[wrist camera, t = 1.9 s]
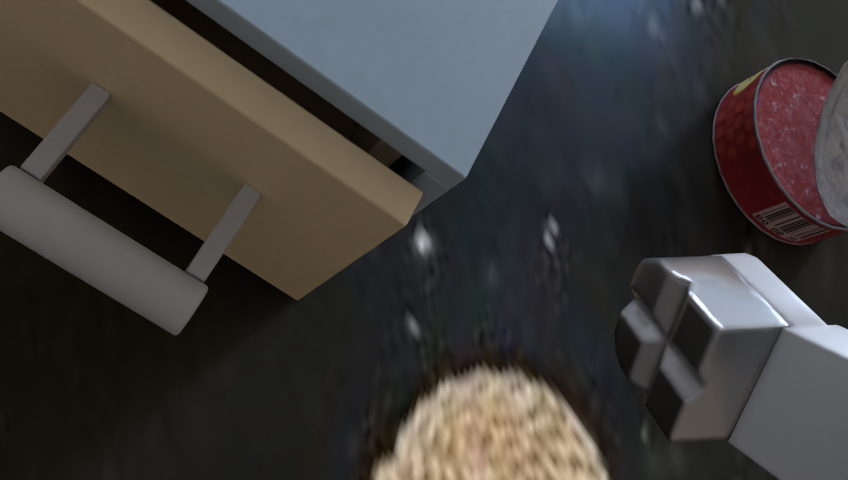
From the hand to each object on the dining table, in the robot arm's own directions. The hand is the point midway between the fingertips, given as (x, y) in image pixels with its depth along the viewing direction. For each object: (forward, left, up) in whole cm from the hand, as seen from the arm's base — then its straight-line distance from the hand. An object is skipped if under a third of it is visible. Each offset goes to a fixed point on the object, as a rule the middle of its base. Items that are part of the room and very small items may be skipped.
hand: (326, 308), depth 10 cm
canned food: (+22, +29, -21) cm, 42 cm away
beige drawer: (-4, +12, -20) cm, 23 cm away
